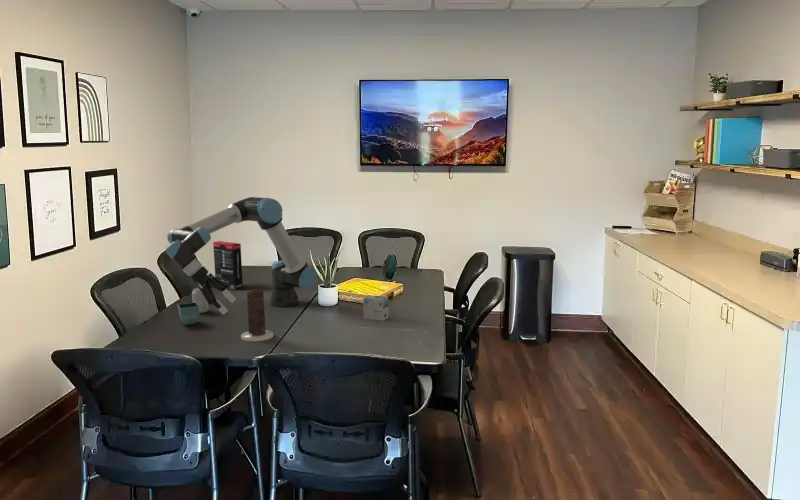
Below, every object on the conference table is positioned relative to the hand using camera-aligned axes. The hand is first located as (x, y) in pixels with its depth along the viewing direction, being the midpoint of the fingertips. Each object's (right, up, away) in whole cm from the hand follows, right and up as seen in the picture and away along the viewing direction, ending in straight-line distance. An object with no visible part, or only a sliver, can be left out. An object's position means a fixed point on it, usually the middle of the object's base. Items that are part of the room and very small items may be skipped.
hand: (230, 306), depth 286 cm
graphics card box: (-26, +2, +99) cm, 103 cm away
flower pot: (-25, -10, +23) cm, 36 cm away
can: (-26, -7, +45) cm, 53 cm away
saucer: (+12, -13, +1) cm, 18 cm away
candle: (+12, -12, +1) cm, 17 cm away
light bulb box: (+63, -8, +30) cm, 70 cm away
